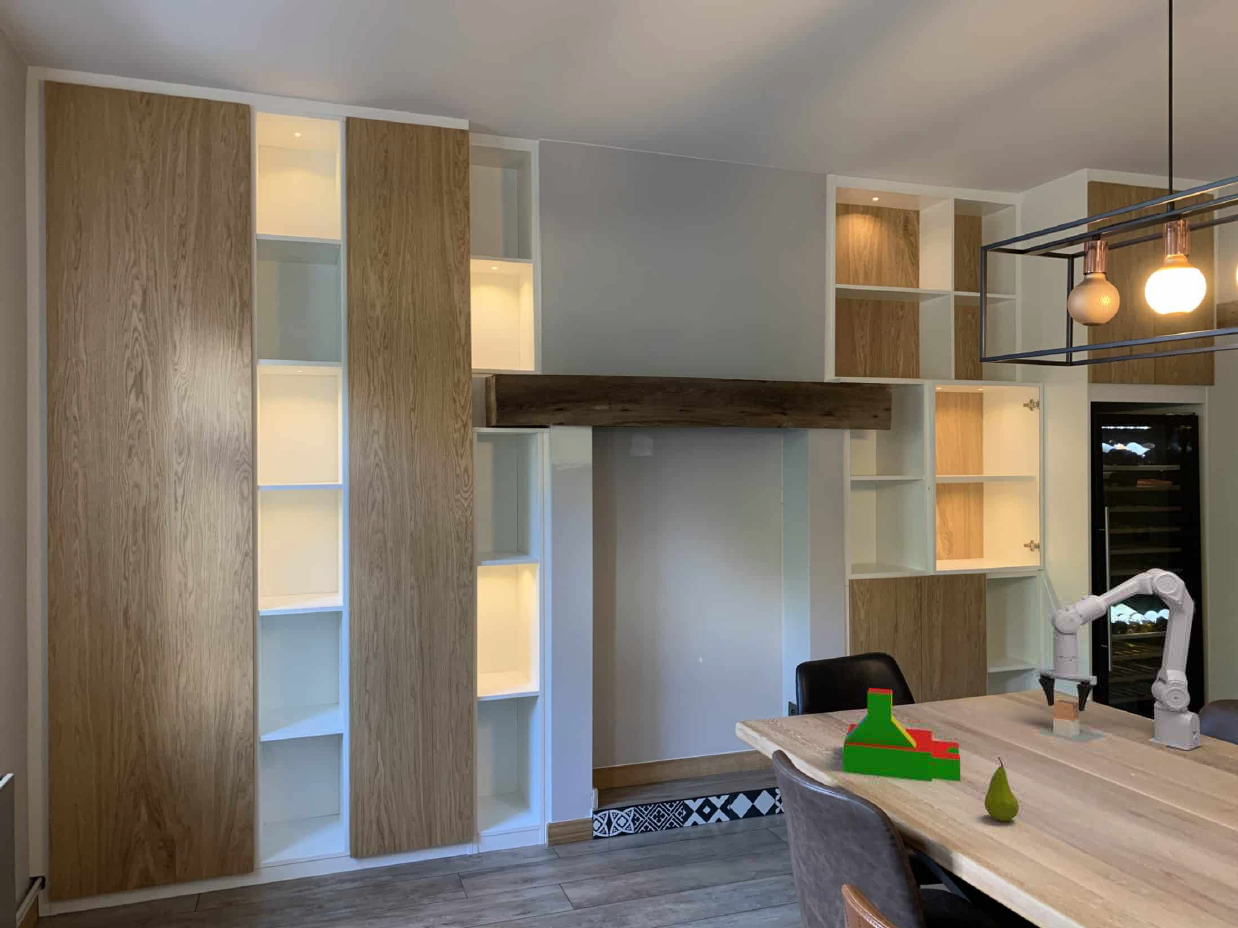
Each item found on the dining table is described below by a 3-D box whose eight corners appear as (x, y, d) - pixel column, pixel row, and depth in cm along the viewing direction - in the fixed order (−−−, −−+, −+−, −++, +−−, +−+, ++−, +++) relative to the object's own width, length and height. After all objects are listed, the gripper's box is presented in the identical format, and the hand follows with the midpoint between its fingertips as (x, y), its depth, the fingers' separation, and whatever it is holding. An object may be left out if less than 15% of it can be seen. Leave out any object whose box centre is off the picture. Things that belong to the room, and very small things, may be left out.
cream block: (1079, 734, 231) (1079, 718, 231) (1070, 736, 228) (1070, 721, 228) (1062, 730, 234) (1062, 715, 235) (1053, 732, 232) (1053, 717, 232)
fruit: (1007, 828, 168) (1006, 764, 168) (977, 818, 173) (977, 756, 173) (1025, 820, 172) (1024, 758, 172) (995, 811, 177) (995, 751, 177)
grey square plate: (1107, 737, 230) (1107, 735, 230) (1083, 744, 223) (1083, 742, 223) (1061, 727, 239) (1061, 725, 239) (1037, 733, 233) (1037, 732, 233)
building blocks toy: (960, 785, 193) (960, 701, 193) (843, 773, 201) (843, 692, 202) (958, 760, 211) (957, 684, 211) (850, 750, 219) (850, 676, 219)
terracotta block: (1078, 718, 232) (1078, 702, 232) (1072, 721, 228) (1072, 705, 229) (1060, 714, 235) (1060, 699, 235) (1054, 717, 232) (1054, 702, 232)
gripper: (1100, 657, 229) (1101, 710, 229) (1043, 650, 240) (1043, 700, 240) (1090, 661, 225) (1091, 714, 224) (1032, 653, 235) (1033, 704, 235)
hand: (1066, 707), depth 232 cm, fingers open, 7 cm apart
